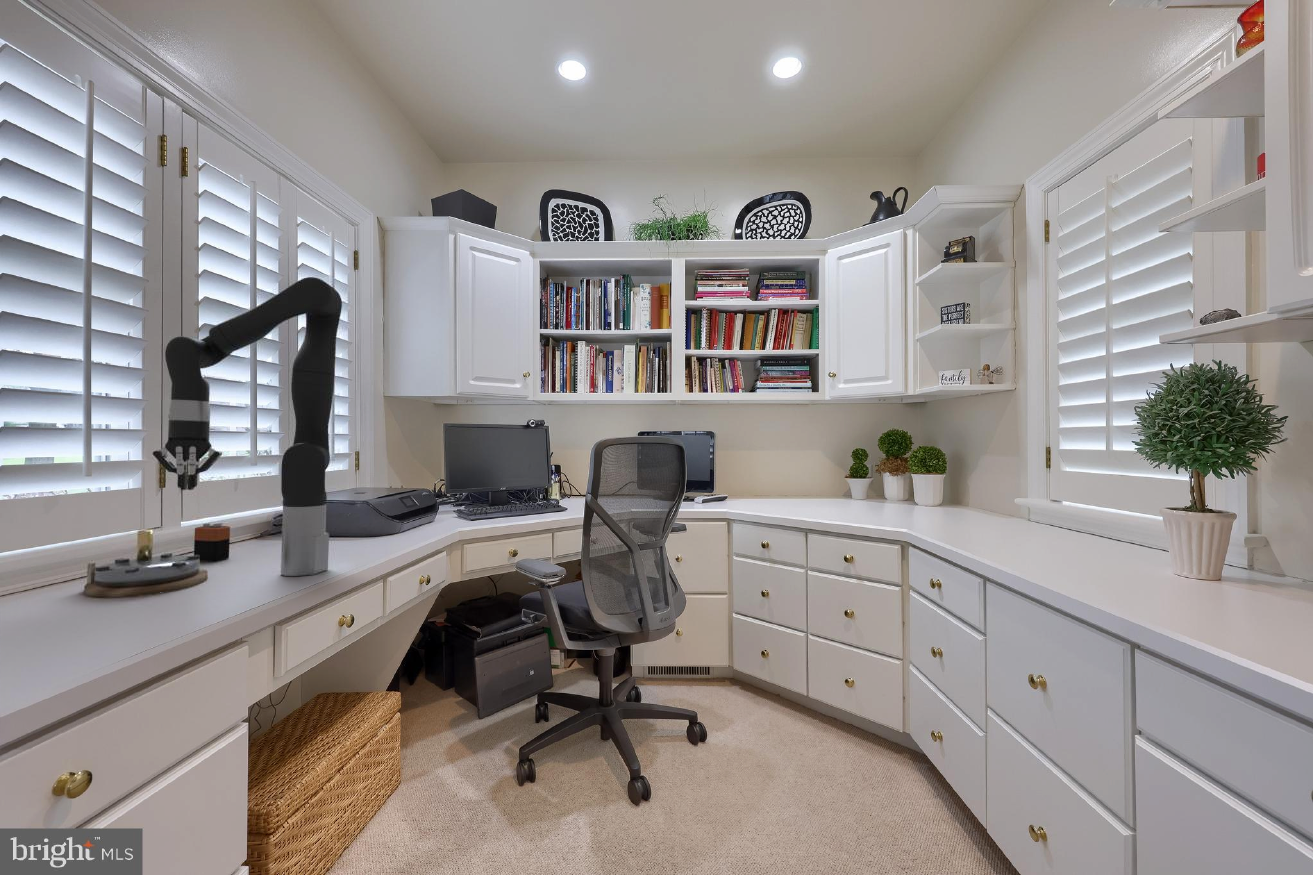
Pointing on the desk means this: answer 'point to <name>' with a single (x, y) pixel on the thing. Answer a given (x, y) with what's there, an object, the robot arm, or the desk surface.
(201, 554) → the battery
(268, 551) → the desk surface
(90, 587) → the base plate
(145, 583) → the studded grey disc
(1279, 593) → the desk surface
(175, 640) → the desk surface
